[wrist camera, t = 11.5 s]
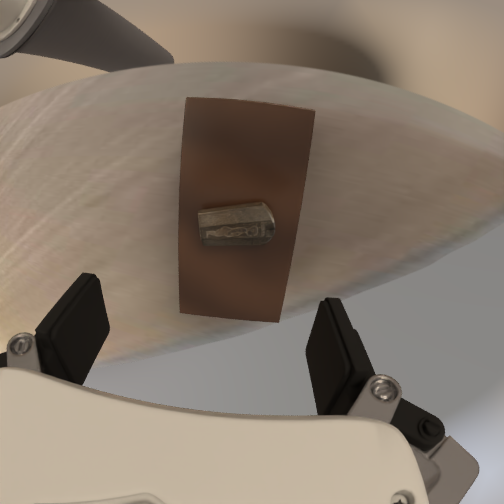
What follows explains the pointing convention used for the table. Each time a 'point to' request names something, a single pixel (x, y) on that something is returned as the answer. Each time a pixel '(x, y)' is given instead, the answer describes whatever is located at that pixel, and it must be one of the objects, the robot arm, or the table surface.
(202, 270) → the shelf
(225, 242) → the block
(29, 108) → the table surface
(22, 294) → the table surface
